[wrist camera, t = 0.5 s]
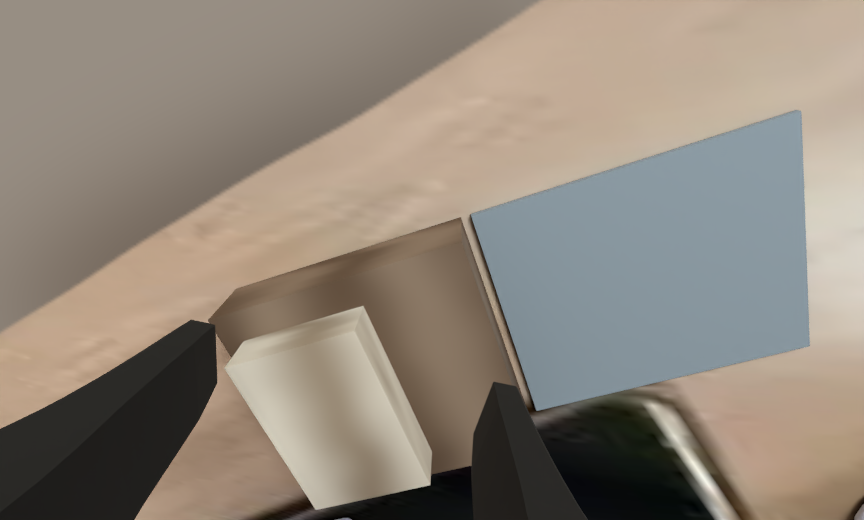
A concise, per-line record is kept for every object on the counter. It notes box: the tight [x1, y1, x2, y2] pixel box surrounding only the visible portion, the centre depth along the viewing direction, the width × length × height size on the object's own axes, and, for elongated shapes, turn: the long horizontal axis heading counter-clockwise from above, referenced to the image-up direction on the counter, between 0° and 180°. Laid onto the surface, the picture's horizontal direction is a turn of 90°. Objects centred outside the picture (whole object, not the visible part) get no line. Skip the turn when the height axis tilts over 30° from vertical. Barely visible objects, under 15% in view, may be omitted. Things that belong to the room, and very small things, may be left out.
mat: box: [471, 110, 810, 411], centre depth 23 cm, size 14×12×1 cm
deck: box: [208, 217, 525, 474], centre depth 24 cm, size 12×12×3 cm
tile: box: [224, 306, 432, 510], centre depth 22 cm, size 6×9×2 cm, turn 19°
